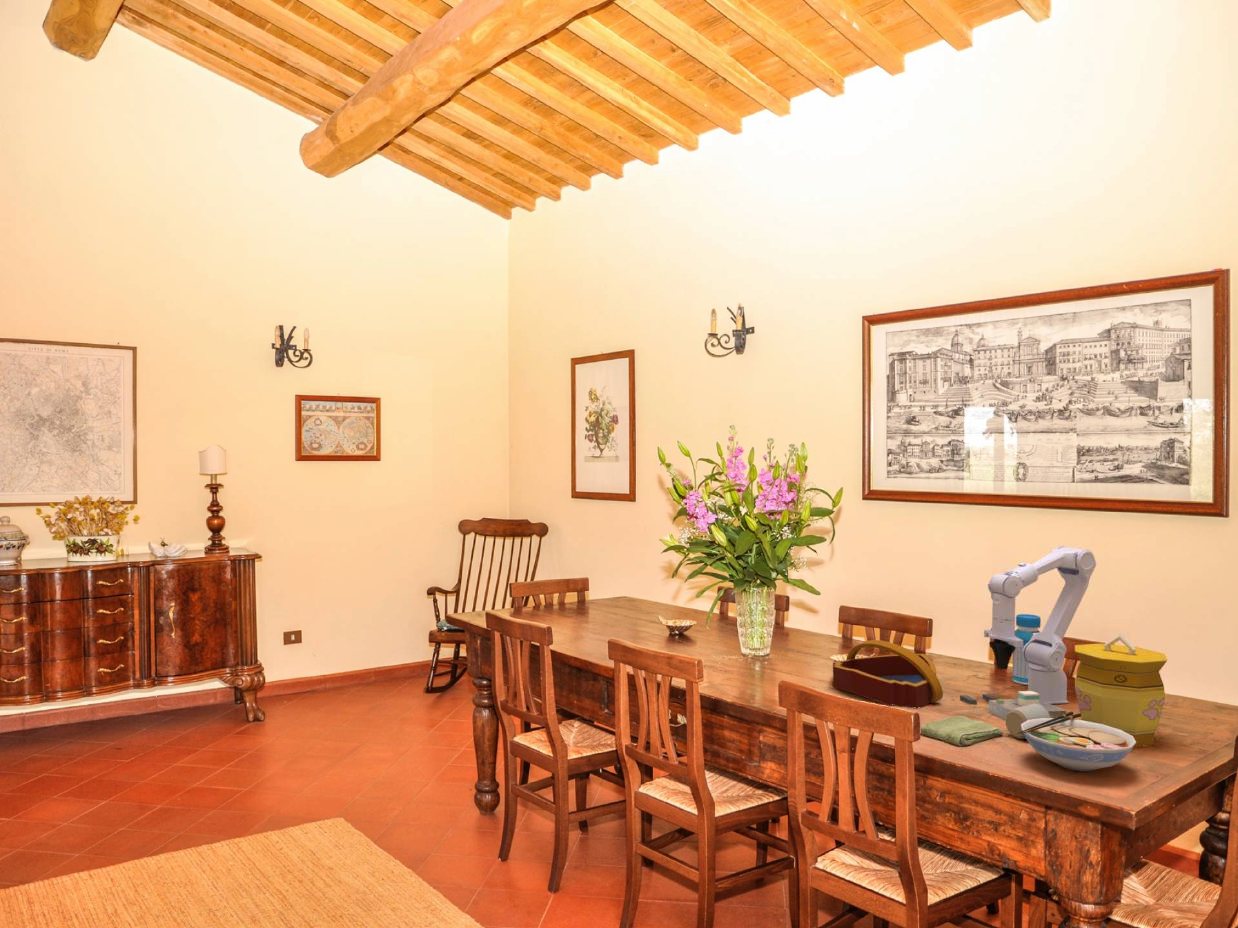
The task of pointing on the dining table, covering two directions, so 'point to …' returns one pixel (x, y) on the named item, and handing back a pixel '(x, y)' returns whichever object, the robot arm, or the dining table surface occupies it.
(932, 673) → the decorative basket
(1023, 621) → the beverage bottle
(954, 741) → the washcloth
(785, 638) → the dining table surface
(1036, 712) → the grey cylinder
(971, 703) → the pair of dark blocks
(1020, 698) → the small white carton
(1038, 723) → the ramen bowl
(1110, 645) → the container
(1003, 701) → the port
